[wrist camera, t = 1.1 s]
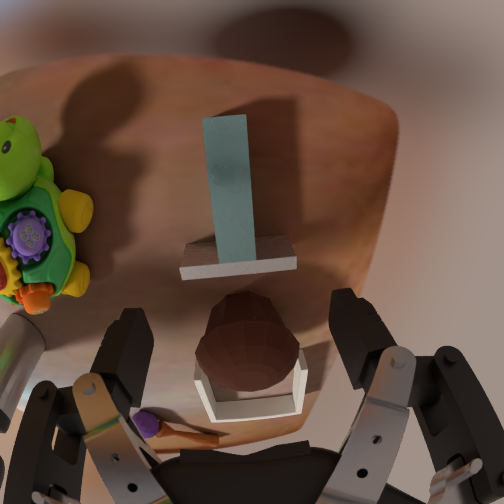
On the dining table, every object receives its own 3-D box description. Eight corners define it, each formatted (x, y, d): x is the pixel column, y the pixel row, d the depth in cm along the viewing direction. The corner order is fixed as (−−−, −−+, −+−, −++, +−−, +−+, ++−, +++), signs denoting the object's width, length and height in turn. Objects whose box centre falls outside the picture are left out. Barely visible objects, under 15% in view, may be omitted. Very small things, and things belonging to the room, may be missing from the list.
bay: (195, 359, 38) (193, 380, 34) (302, 349, 38) (308, 369, 35) (211, 404, 44) (211, 422, 41) (297, 396, 45) (301, 413, 41)
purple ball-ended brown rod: (208, 453, 50) (125, 434, 41) (208, 431, 54) (129, 410, 46) (222, 451, 47) (133, 432, 39) (222, 427, 51) (137, 405, 43)
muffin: (197, 343, 36) (192, 403, 27) (201, 279, 31) (193, 341, 23) (279, 348, 38) (291, 405, 29) (298, 287, 33) (321, 346, 24)
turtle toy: (115, 119, 22) (48, 127, 12) (95, 300, 32) (61, 364, 21) (9, 108, 18) (-57, 121, 8) (8, 266, 28) (-34, 312, 18)
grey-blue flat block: (168, 124, 23) (155, 126, 19) (282, 113, 24) (294, 112, 19) (188, 255, 30) (182, 280, 25) (286, 245, 30) (296, 269, 26)
